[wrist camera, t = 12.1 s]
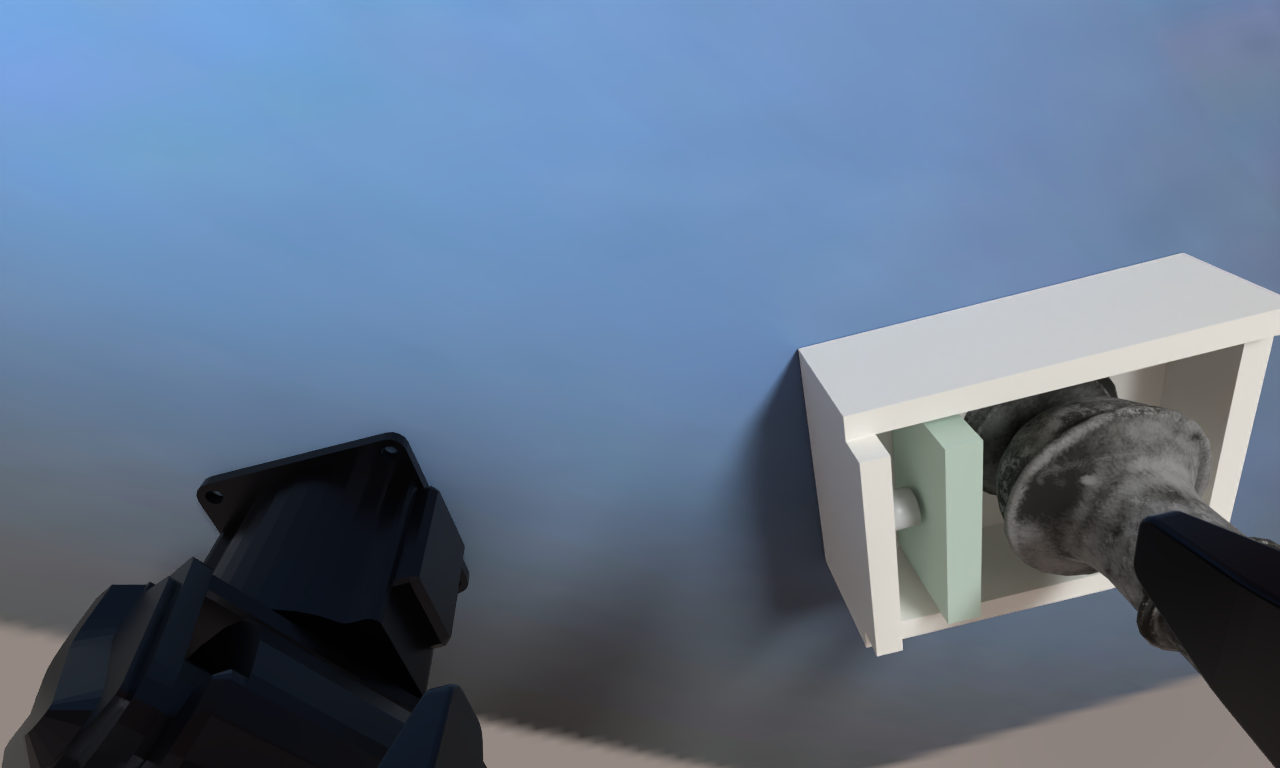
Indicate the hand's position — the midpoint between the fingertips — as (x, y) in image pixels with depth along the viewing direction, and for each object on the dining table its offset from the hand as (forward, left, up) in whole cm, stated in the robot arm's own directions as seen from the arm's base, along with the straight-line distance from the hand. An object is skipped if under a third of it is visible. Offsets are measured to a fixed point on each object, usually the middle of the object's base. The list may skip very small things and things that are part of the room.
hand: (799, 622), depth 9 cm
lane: (+9, -8, -13) cm, 18 cm away
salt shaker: (+10, -8, -12) cm, 18 cm away
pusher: (+6, -8, -12) cm, 16 cm away
